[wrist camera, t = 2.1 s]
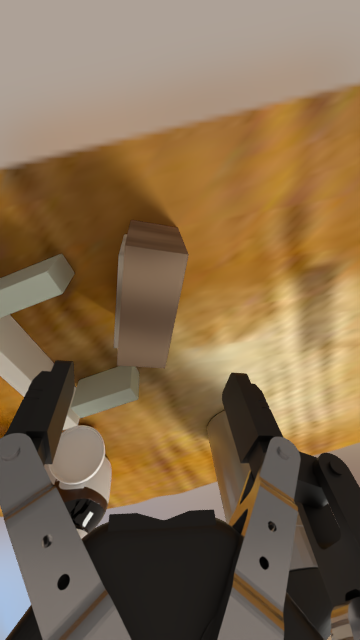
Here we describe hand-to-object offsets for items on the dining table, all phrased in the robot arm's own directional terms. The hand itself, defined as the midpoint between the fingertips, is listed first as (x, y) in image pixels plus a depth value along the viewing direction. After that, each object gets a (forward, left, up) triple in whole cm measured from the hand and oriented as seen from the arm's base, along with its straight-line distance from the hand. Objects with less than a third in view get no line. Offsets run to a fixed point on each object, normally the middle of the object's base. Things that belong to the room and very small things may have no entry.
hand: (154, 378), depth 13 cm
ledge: (-7, +10, -13) cm, 18 cm away
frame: (0, 0, -13) cm, 13 cm away
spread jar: (-27, +12, -14) cm, 33 cm away
